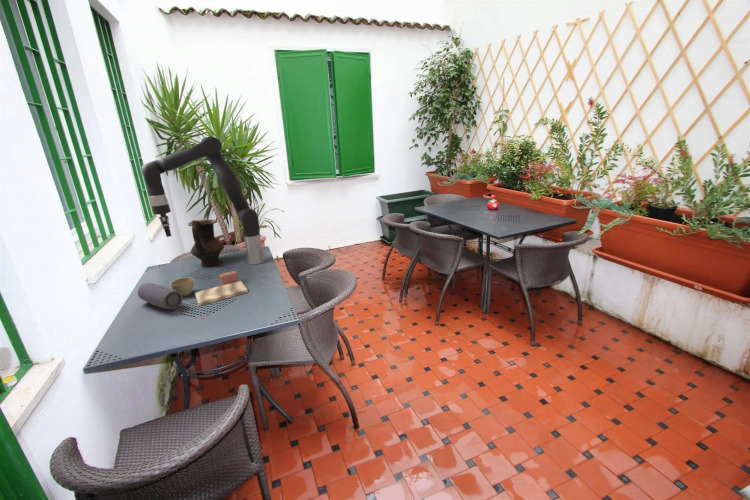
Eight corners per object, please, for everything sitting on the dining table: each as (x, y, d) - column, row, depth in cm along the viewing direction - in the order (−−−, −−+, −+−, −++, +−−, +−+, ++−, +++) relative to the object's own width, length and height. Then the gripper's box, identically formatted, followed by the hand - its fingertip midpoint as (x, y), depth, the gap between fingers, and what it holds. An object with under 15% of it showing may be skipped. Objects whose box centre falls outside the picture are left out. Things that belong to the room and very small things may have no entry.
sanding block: (237, 280, 182) (235, 270, 180) (239, 283, 178) (237, 272, 176) (221, 284, 178) (219, 274, 176) (223, 287, 174) (220, 276, 173)
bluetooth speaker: (186, 306, 157) (181, 286, 154) (166, 315, 149) (160, 294, 146) (159, 297, 168) (154, 278, 165) (139, 305, 161) (133, 286, 157)
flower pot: (199, 293, 169) (196, 280, 167) (178, 300, 163) (174, 287, 160) (192, 288, 176) (188, 275, 174) (171, 295, 169) (167, 282, 167)
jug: (201, 260, 218) (190, 214, 209) (230, 257, 220) (221, 211, 210) (187, 272, 199) (174, 222, 189) (220, 269, 200) (209, 219, 190)
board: (241, 283, 178) (241, 280, 178) (248, 292, 167) (247, 289, 166) (195, 295, 167) (194, 292, 167) (199, 305, 156) (198, 302, 156)
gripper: (168, 204, 167) (177, 236, 173) (167, 200, 179) (176, 230, 184) (151, 207, 164) (160, 239, 169) (151, 203, 175) (160, 233, 181)
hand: (168, 234), depth 177 cm, fingers open, 8 cm apart
